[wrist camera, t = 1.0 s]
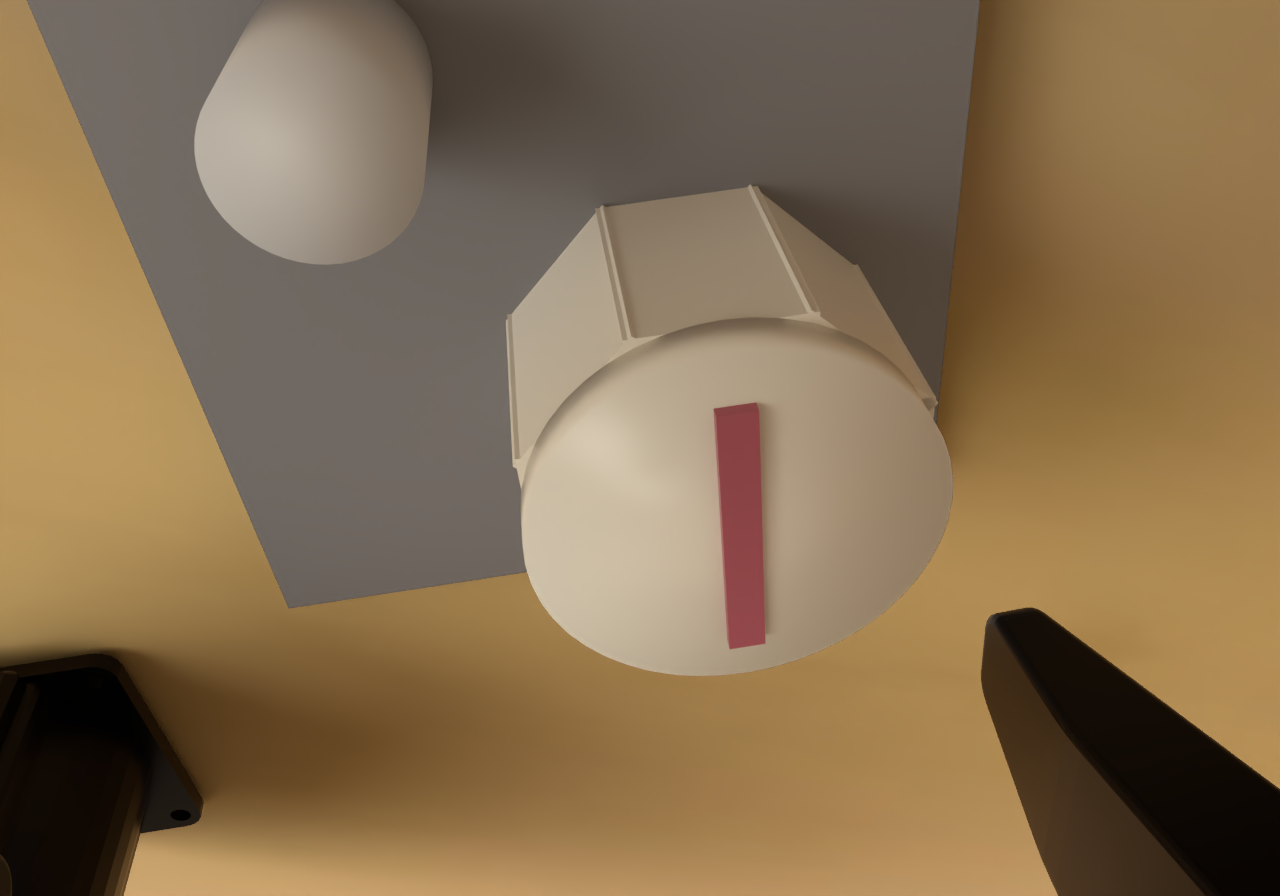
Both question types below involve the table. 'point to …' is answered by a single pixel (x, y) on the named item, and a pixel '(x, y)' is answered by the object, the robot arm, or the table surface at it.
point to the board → (473, 215)
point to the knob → (717, 439)
